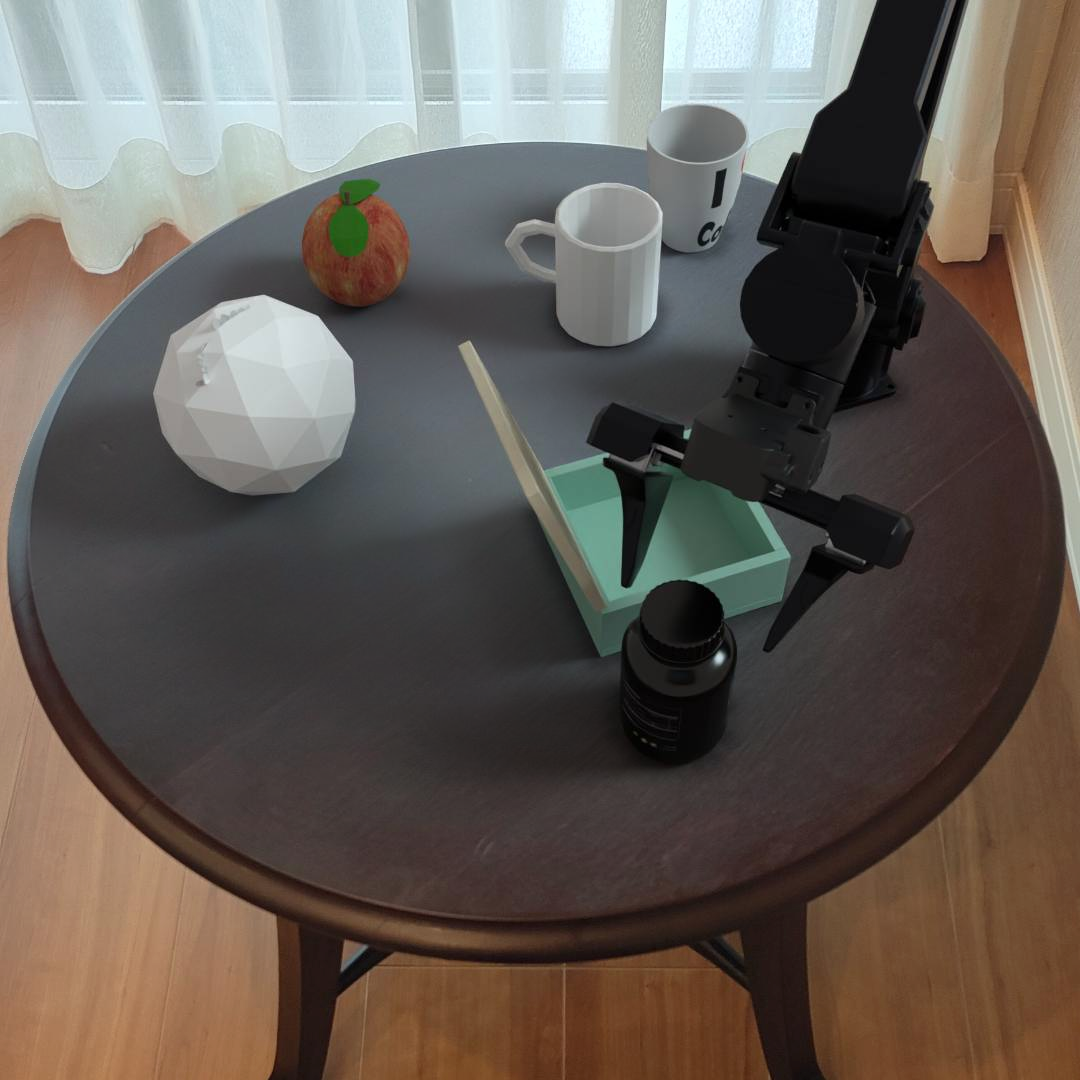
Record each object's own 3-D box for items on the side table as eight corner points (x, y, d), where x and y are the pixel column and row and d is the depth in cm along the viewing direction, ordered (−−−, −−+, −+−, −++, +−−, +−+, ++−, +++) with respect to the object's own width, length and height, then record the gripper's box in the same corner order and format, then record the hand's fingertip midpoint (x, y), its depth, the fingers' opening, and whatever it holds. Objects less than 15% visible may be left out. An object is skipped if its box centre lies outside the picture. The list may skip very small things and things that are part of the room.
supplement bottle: (655, 656, 86) (665, 544, 77) (746, 708, 84) (768, 599, 74) (596, 731, 83) (599, 624, 74) (689, 787, 81) (704, 684, 71)
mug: (513, 276, 110) (508, 178, 102) (657, 281, 109) (663, 182, 101) (504, 343, 105) (498, 246, 97) (655, 349, 104) (661, 251, 96)
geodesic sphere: (305, 538, 85) (321, 318, 82) (101, 504, 88) (108, 287, 84) (376, 491, 100) (392, 301, 96) (199, 462, 102) (208, 276, 98)
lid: (469, 339, 78) (457, 345, 78) (539, 491, 71) (526, 497, 71) (540, 464, 90) (530, 470, 90) (607, 607, 82) (596, 613, 82)
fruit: (295, 321, 107) (272, 222, 99) (332, 246, 113) (313, 146, 105) (397, 335, 106) (382, 236, 98) (429, 258, 111) (417, 159, 103)
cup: (709, 276, 109) (719, 175, 101) (624, 244, 112) (627, 144, 104) (752, 222, 113) (766, 122, 106) (669, 192, 116) (676, 92, 108)
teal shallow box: (706, 469, 96) (711, 422, 92) (781, 601, 89) (791, 556, 85) (537, 517, 94) (535, 471, 90) (600, 657, 86) (602, 614, 83)
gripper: (605, 294, 70) (504, 564, 73) (942, 421, 64) (818, 709, 67) (664, 318, 80) (574, 553, 83) (960, 429, 74) (852, 678, 77)
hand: (694, 618), depth 77 cm, fingers open, 9 cm apart
